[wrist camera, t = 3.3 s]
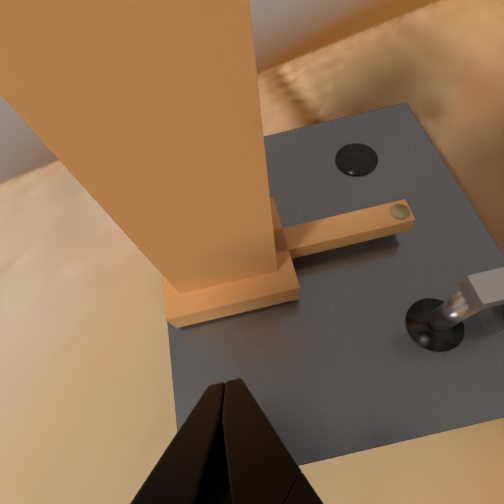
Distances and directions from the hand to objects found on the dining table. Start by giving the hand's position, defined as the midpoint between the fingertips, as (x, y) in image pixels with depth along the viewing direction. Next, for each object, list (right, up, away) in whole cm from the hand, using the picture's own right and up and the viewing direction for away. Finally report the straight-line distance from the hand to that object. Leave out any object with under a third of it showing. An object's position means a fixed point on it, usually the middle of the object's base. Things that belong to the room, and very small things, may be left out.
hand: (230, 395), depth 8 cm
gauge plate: (+4, +3, +10) cm, 11 cm away
